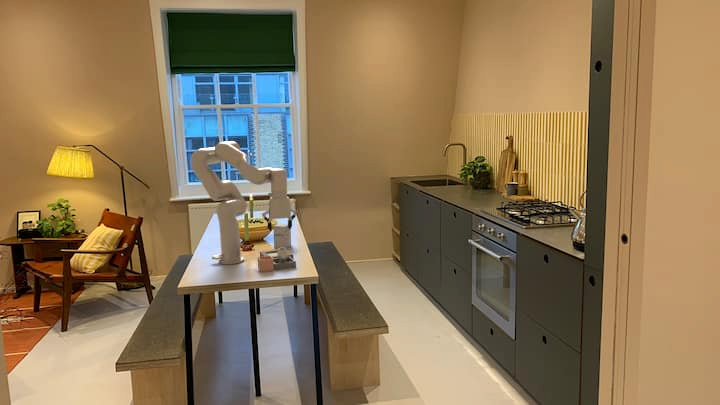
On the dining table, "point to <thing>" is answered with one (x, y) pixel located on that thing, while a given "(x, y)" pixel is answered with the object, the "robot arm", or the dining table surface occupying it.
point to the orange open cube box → (265, 264)
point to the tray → (284, 264)
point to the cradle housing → (264, 253)
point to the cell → (282, 255)
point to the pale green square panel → (273, 254)
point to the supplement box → (282, 236)
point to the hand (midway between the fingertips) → (280, 229)
